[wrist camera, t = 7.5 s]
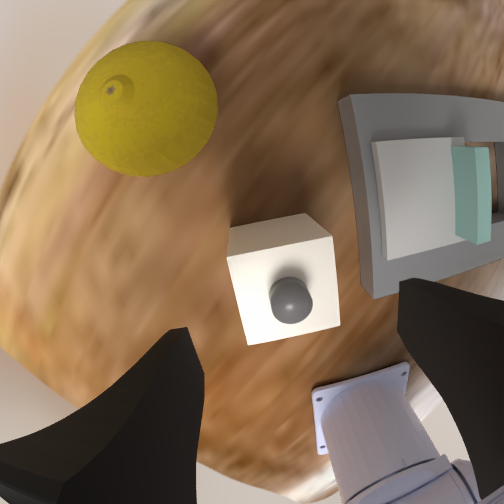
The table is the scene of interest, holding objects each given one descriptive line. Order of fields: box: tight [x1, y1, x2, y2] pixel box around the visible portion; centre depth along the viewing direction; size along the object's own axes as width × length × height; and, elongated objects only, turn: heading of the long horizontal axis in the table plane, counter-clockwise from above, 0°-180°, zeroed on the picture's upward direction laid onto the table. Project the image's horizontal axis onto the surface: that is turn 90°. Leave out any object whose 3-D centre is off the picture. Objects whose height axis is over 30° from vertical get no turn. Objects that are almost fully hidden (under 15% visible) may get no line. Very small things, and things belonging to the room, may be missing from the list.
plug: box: [227, 213, 340, 345], centre depth 14 cm, size 4×4×6 cm
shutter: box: [371, 137, 492, 261], centre depth 13 cm, size 6×6×3 cm
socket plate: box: [337, 93, 504, 299], centre depth 15 cm, size 11×15×2 cm
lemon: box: [75, 41, 218, 177], centre depth 10 cm, size 6×6×8 cm
